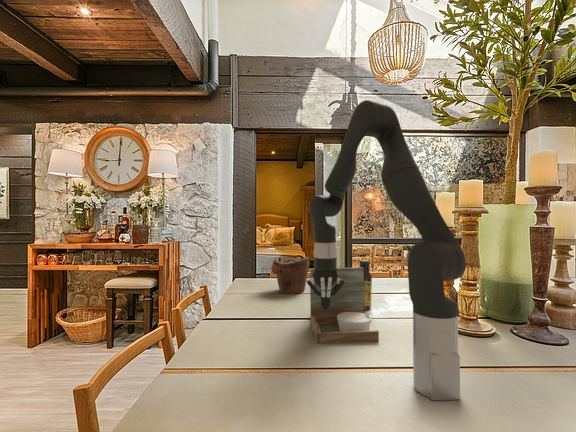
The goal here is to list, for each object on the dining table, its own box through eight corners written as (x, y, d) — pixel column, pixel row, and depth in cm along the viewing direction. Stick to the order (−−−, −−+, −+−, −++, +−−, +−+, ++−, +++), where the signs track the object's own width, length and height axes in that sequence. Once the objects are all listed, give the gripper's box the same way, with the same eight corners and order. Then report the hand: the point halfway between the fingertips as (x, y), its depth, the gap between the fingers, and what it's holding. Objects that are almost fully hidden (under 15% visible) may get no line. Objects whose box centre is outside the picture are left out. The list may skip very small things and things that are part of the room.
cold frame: (378, 341, 103) (378, 276, 103) (317, 343, 102) (316, 277, 102) (363, 323, 120) (362, 267, 120) (310, 324, 119) (310, 268, 119)
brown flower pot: (267, 288, 177) (267, 254, 177) (303, 285, 183) (303, 253, 183) (276, 296, 160) (276, 259, 160) (315, 293, 166) (315, 257, 166)
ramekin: (375, 338, 106) (374, 322, 106) (339, 338, 106) (339, 322, 106) (367, 326, 117) (367, 311, 117) (335, 326, 117) (335, 311, 117)
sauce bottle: (355, 309, 137) (355, 261, 136) (356, 305, 143) (355, 259, 143) (372, 310, 135) (371, 261, 135) (371, 306, 141) (371, 259, 141)
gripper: (306, 257, 107) (306, 311, 107) (347, 257, 107) (347, 311, 108) (304, 254, 114) (304, 305, 114) (342, 254, 115) (342, 304, 115)
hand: (325, 307), depth 111 cm, fingers closed
